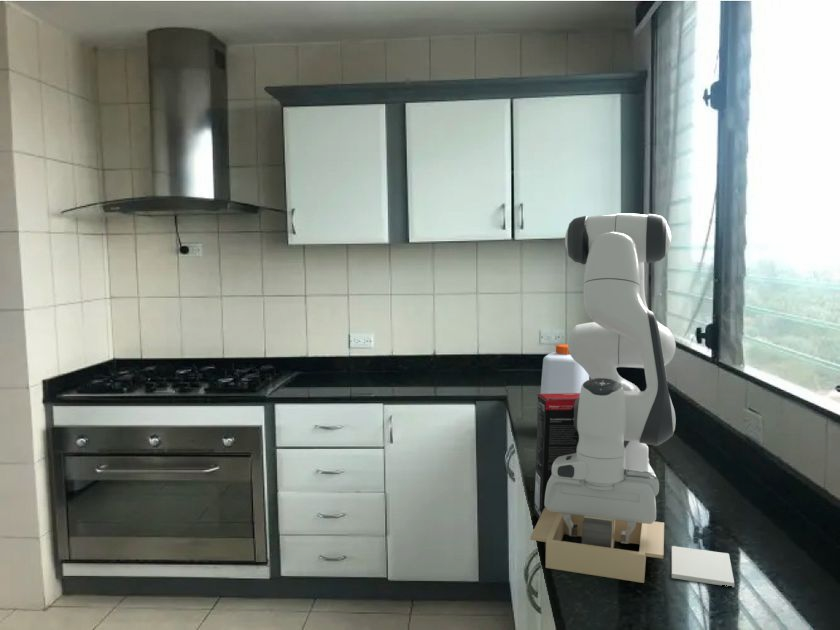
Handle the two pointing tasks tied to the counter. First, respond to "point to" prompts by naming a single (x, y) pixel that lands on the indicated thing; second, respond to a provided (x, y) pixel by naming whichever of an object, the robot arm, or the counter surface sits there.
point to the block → (598, 531)
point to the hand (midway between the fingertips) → (598, 538)
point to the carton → (598, 548)
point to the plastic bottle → (562, 373)
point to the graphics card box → (553, 438)
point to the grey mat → (702, 566)
